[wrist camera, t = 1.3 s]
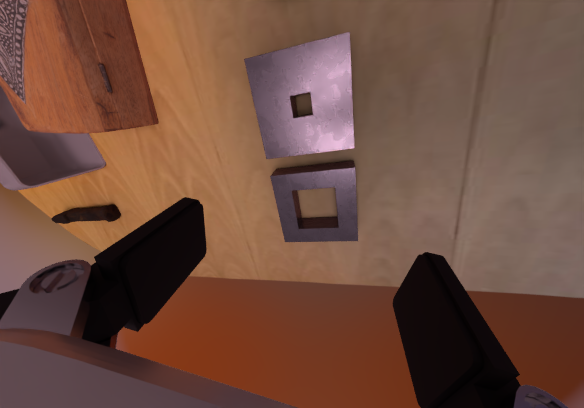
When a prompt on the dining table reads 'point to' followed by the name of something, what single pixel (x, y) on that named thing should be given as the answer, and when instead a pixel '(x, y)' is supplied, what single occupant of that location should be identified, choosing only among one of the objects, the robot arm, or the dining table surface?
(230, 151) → the dining table surface
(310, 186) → the wide-bore block
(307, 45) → the narrow-bore block
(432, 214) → the dining table surface
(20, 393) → the robot arm
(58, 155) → the tank
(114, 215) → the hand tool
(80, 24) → the wooden box
